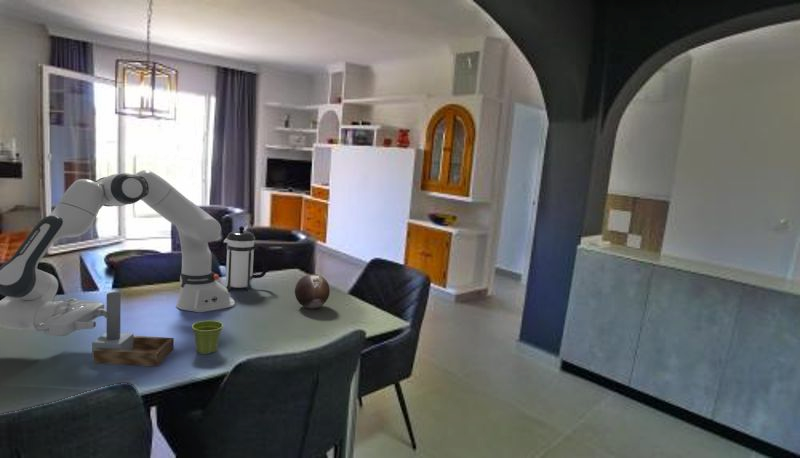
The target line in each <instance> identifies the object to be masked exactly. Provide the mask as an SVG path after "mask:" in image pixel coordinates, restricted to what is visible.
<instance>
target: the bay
mask: <svg viewBox="0 0 800 458" xmlns="http://www.w3.org/2000/svg"><path fill="white" fill-rule="evenodd" d="M174 338H175V337H162V336H161V337H159V336H146V335H144V336H143V335H134V341H133V350H114V349H95V350H94V358H93V364H103V365H104V364H105V365H107V364H108V365H124V366H141V367H142V366H145V367H158V366H159V365H160V364H161V363H162V362H163V361H164V360H165V359H166V358H167V357H168V356H169V355H170V354H171V353H172V352H173V351H174V348H175V347H174V346H175V344H174V343H175V342H174V341H175V339H174Z"/></svg>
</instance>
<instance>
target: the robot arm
mask: <svg viewBox="0 0 800 458" xmlns="http://www.w3.org/2000/svg"><path fill="white" fill-rule="evenodd" d="M139 201H142V202H143V203H145V204H146V205H147V206H148V207H150V208H151V209H153V210H154V211H155V212H156V213H157V214H158V215H160V216H161V217H162V218H164V220H166V221H167V222H170V223H171V224H173V225H174V226H175V227H176V230H177V233H178V238H179V243H180V244H179V245H180V249H181V272H180V276H179V285H180V288H179V289H180V291H179V297H178V300H177V303H176V308H177V309H180V310H181V311H187V312H196V313H203V312H211V311H217V310H222V309H227V308H234V307H235V305H236V304H235V303H236V302H235V299H234V298H232V297H230V292H229V291H228V290H227V288H226V287H227V286H226V287H225V286H224V285H223V284H222V283H220V282H218V280H219V279H220V276H219V274H218V273H215V272H213V271H212V258H213V257H212V252H211V249H210V247H209V243H213V242H215V241H216V240H218V239H219V238H220V236H221V234H222V226H221V224H220V222H219V221H218V220H217V219H215V218H214V217H213V216H212V215H210V214H209V213H208V212H207V211H205V210H204V209H202V208H201V207H199V206H198V205H197V204H195V203H194V202H193V201H191V200H190V199H188V198H187V197H186V196H185V195H183V193H181V192H180V191H178V190H177V189H176V188H175V187H174V186H173V185H171V183H169V182H168V181H167V180H165V179H164V178H162V177H161V176H159V175H158V174H156V173H154V172H153V171H150V170H148V169H147V170H146V169H145V170H140V171H137V172H136V173H135V174H133V173H127V172H124V173H114V174H111V175H108V176H104V177H103V176H102V177H101V178H99V179H96V180H95V181H94V180H91V179H86V178H79V179H77V180H75V181H74V182H73V183H72V184H70V186H69V187H68V188H67V189H66V191H65V192H64V193H63V195H62V196H61V198H60V199H59V201H58V202H57V204H56V206H55V207H54V209H53V210H52V211H51V213H50V214H49V215H47V216H45V217H44V218H42V219H41V220H39V222H38V223H37V224H36V225H35V226H34V227H33V229H32V230H31V232H30V233H29V234H28V236H26V238H25V239H24V240H23V241H22V243H21V244H20V246H19V247H18V249H17V250H16V251H15V252H14V254H13V255H12V256H11V257H10V258H9V259H8V260H7V261H6V262H4V264H3V265H1V266H0V295H1V296H4V298H2V299H1V300H0V327H1V328H5V329H9V330H12V329H13V330H18V331H19V330H20V331H28V330H29V331H30V330H35V331H37V332H42V333H43V335H50V336H57V337H58V336H59V337H64V336H68V335H70V334H72V333H74V332H75V331H80V330H81V331H82V330H89V329H90V330H92V329H94V328H95V327H96V326H97V323H96V321H95V319H97V318H99V317H104V318H106V319H107V309H105V304H104V303H103V302H99V301H93V300H79V299H78V298H69V299H64V300H55V301H54V299H55V297H56V296H57V293H58V290H59V287H60V285H59V281H58V279H57V277H55V276H54V275H53V274H51V273H48V272H46V271H45V270H44V271H43V270H41V269H38V265H39V263H40V261H41V260H42V258H43V257H44V256H45V254H46V253H47V251H48V250H49V249H50V247H51V246H52V244H53V243H54V242H56V241H57V240H59V239H62V238H63V239H64V238H75V237H79V236H82V235H85V234H86V233H87V232H88V231H89V229H90V228H91V227H92V225H93V223H94V222H95V220H96V217H97V216H98V214H99V212H100V210H101V209H102V207H123V206H126V205H132V204H135V203H138V202H139Z"/></svg>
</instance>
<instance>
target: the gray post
mask: <svg viewBox="0 0 800 458" xmlns="http://www.w3.org/2000/svg"><path fill="white" fill-rule="evenodd" d="M121 297H122V295H121V292H118V291H113V292H108V293H106V310H107V318H106V332H105V333H103V334H102V335H100V336H99V337H97V339H94V340H93V341H92V343H91V352H92V353H91V358H92V359H94V350H95V349H114V350H133V341H134V336H135V335H134V333H125V332H121V309H122V308H121V306H122V305H121V304H122V303H121V299H122V298H121Z"/></svg>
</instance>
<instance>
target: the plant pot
mask: <svg viewBox="0 0 800 458" xmlns="http://www.w3.org/2000/svg"><path fill="white" fill-rule="evenodd" d="M223 327H224V323H222V322H221V321H217V320H201V321H196V322H194V323H193V324H192V325H191V329H192V330H193V333H194V338H195V339H194V340H195V350H196V352H197V353H198V354H202V355H208V354H211V353H212V354H213V353H215V352H216V351H217V349H218V346H219V341H220V340H219V339H220V337H221V336H220V335H221V332H222V329H223Z"/></svg>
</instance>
